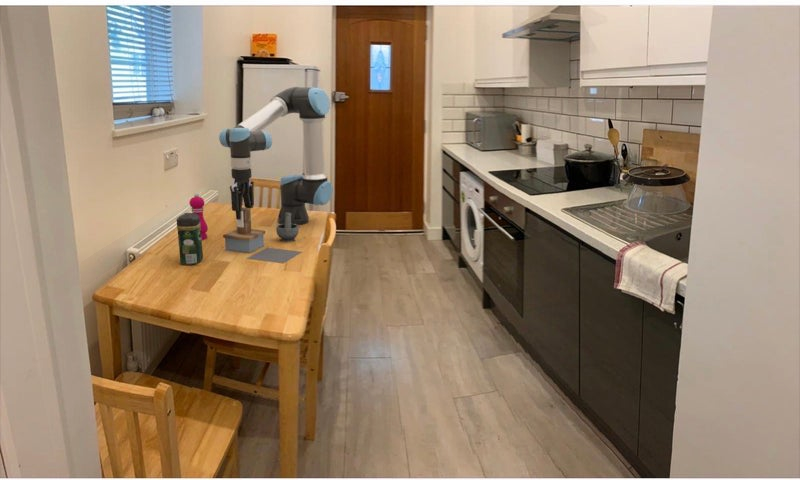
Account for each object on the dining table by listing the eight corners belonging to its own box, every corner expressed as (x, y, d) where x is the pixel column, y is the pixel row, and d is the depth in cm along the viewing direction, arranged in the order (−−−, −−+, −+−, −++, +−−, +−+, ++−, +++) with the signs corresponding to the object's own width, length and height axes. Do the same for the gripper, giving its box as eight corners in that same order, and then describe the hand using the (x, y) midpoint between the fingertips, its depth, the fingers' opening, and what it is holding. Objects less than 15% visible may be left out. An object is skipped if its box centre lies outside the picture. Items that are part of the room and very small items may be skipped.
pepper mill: (187, 239, 234) (183, 194, 229) (197, 235, 241) (194, 191, 236) (201, 241, 233) (198, 195, 227) (211, 237, 239) (208, 192, 234)
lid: (239, 230, 229) (238, 204, 226) (265, 233, 225) (264, 207, 222) (223, 237, 218) (221, 210, 214) (249, 240, 214) (248, 213, 211)
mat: (267, 249, 225) (267, 247, 224) (302, 253, 220) (302, 251, 220) (246, 260, 210) (246, 258, 210) (283, 265, 206) (283, 263, 205)
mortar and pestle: (298, 244, 232) (297, 217, 229) (275, 244, 231) (275, 217, 228) (299, 237, 243) (299, 211, 240) (278, 237, 242) (277, 211, 238)
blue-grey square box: (240, 244, 230) (240, 231, 228) (264, 247, 227) (263, 233, 225) (225, 251, 219) (224, 237, 218) (249, 254, 216) (249, 240, 215)
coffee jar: (183, 258, 210) (179, 211, 205) (204, 257, 212) (201, 211, 206) (177, 266, 201) (173, 217, 196) (200, 265, 202) (196, 217, 197)
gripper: (236, 171, 205) (239, 231, 211) (261, 165, 221) (263, 221, 227) (219, 170, 207) (223, 229, 213) (245, 164, 223) (247, 219, 229)
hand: (244, 225), depth 220 cm, fingers open, 5 cm apart
